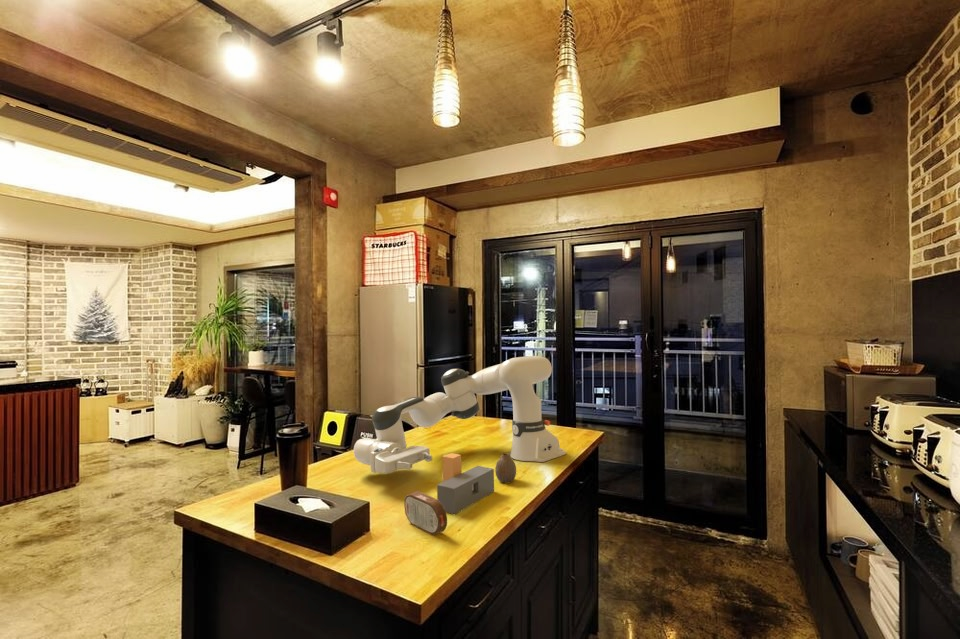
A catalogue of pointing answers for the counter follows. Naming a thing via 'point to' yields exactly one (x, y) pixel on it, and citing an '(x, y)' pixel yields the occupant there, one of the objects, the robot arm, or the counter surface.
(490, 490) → the block
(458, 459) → the plug
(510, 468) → the vase
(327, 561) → the counter surface
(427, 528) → the tin
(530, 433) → the robot arm
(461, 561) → the counter surface
